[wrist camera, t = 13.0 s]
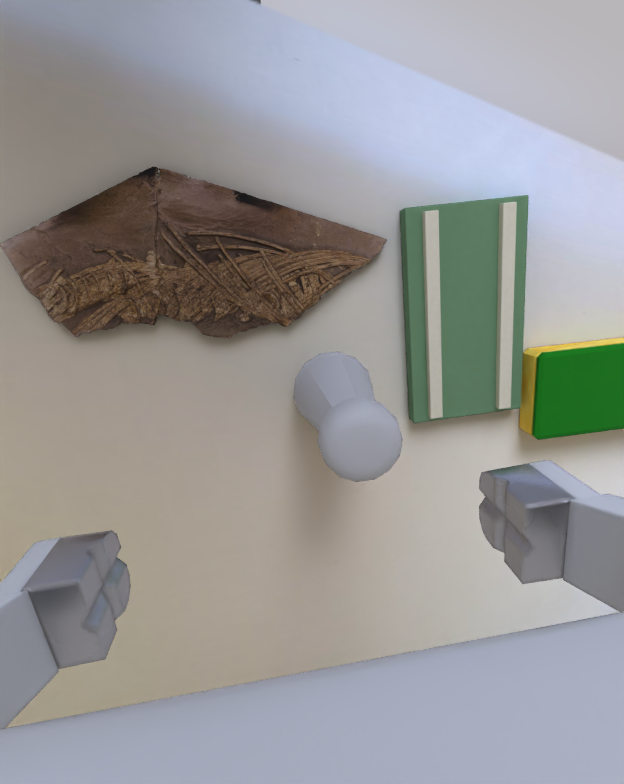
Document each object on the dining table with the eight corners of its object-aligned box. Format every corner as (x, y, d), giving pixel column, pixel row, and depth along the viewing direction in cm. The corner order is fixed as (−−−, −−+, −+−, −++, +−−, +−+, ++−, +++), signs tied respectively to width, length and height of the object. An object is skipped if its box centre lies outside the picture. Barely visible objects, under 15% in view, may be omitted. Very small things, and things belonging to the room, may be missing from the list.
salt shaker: (379, 382, 33) (445, 448, 21) (327, 431, 34) (363, 523, 22) (328, 330, 32) (368, 369, 19) (276, 383, 33) (282, 452, 20)
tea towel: (399, 210, 30) (407, 206, 28) (519, 197, 31) (533, 193, 29) (408, 418, 35) (416, 426, 33) (512, 403, 35) (525, 410, 34)
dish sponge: (667, 410, 37) (693, 420, 35) (517, 429, 36) (535, 440, 34) (680, 330, 35) (709, 334, 33) (522, 348, 34) (541, 354, 32)
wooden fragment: (18, 334, 29) (10, 336, 28) (-11, 161, 26) (-22, 156, 25) (376, 336, 32) (380, 338, 31) (386, 180, 29) (390, 176, 28)
